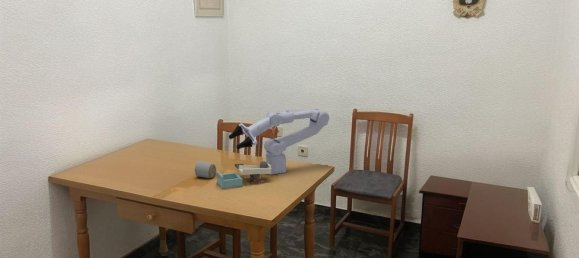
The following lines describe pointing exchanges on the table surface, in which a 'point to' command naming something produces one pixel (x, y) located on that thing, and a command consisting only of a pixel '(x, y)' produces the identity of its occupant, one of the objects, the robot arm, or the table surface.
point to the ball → (263, 164)
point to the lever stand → (254, 179)
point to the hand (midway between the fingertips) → (232, 142)
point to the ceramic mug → (205, 169)
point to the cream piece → (253, 169)
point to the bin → (229, 180)
